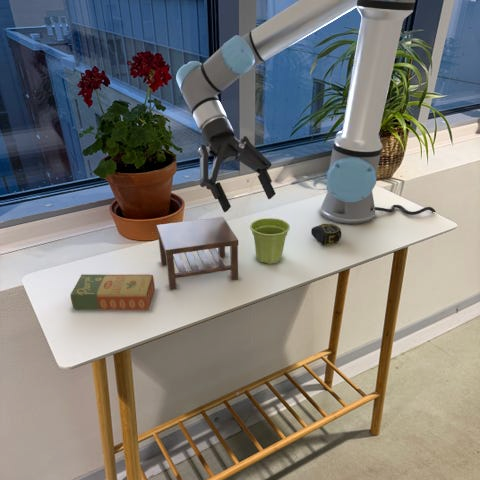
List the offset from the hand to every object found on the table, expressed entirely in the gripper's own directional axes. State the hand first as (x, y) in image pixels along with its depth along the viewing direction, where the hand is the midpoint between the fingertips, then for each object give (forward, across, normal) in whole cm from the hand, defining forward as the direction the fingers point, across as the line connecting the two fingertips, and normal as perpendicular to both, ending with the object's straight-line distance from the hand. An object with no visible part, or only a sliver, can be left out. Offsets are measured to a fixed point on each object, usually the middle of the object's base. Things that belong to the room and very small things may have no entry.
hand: (250, 203), depth 118 cm
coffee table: (+10, +17, -7) cm, 21 cm away
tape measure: (+15, -18, -2) cm, 23 cm away
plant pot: (+14, 0, -3) cm, 14 cm away
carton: (+10, +38, -7) cm, 40 cm away
